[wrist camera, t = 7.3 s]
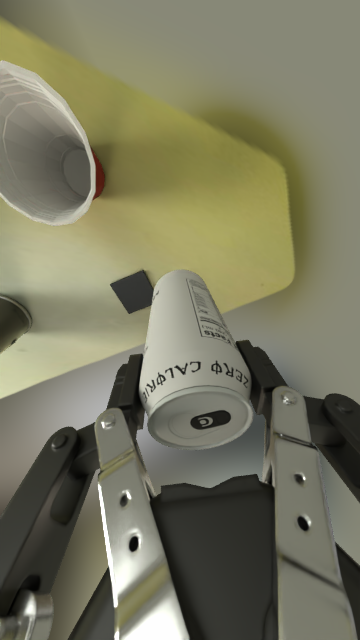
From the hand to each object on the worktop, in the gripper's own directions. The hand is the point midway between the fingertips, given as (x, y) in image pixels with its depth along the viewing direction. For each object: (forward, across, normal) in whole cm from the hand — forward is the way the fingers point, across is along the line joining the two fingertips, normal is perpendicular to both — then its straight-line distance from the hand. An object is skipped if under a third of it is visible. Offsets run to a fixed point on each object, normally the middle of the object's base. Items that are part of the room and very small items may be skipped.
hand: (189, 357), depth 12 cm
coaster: (+25, +9, +5) cm, 27 cm away
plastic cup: (+25, +11, -14) cm, 31 cm away
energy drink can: (+11, 0, 0) cm, 11 cm away
